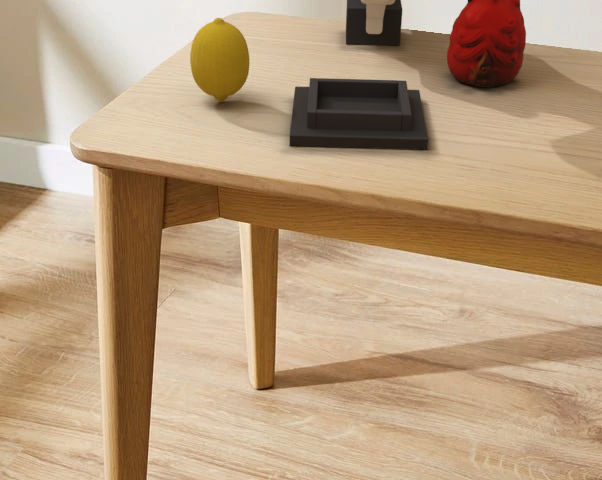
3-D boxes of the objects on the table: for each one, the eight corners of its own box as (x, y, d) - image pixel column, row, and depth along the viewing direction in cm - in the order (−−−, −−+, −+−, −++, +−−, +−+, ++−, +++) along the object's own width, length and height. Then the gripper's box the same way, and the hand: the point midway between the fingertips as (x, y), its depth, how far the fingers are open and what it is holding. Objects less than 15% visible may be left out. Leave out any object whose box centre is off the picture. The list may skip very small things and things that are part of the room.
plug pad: (397, 30, 113) (400, -5, 111) (399, 45, 108) (402, 9, 106) (345, 29, 113) (347, -6, 111) (345, 44, 109) (347, 8, 106)
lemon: (224, 87, 97) (221, 6, 92) (262, 102, 93) (261, 19, 89) (180, 100, 94) (175, 17, 89) (217, 117, 90) (214, 31, 86)
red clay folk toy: (517, 70, 102) (538, -81, 94) (523, 94, 96) (546, -65, 88) (444, 66, 103) (458, -84, 95) (445, 90, 97) (461, -68, 89)
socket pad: (418, 99, 95) (420, 74, 93) (427, 150, 85) (430, 122, 83) (295, 96, 95) (295, 71, 94) (289, 146, 85) (289, 119, 84)
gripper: (416, -88, 94) (405, 53, 101) (405, -125, 111) (396, -2, 118) (350, -89, 94) (345, 52, 101) (349, -126, 111) (344, -3, 118)
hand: (372, 22), depth 110 cm, fingers closed on plug pad, 5 cm apart
